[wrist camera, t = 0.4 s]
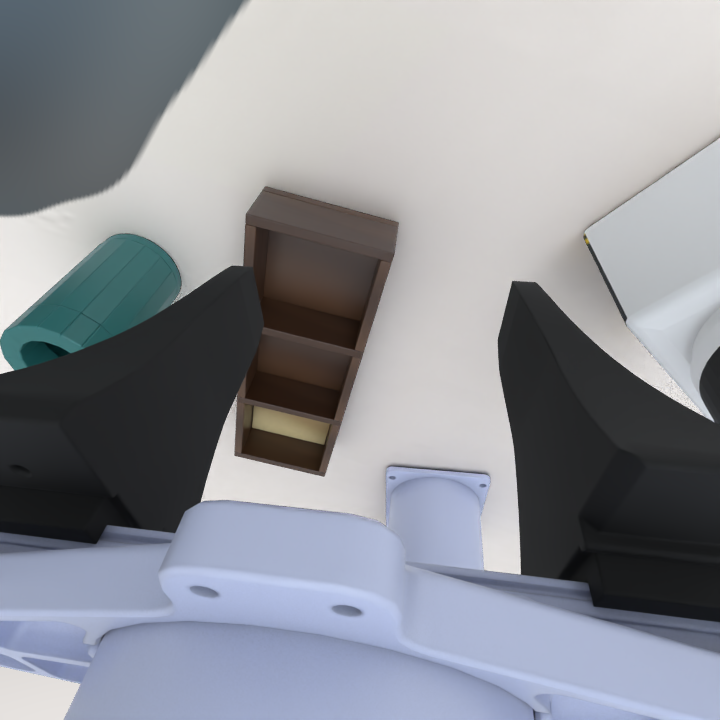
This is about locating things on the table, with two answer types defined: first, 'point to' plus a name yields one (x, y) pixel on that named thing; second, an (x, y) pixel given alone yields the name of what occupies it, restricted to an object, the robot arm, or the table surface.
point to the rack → (307, 323)
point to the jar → (94, 301)
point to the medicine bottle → (671, 273)
